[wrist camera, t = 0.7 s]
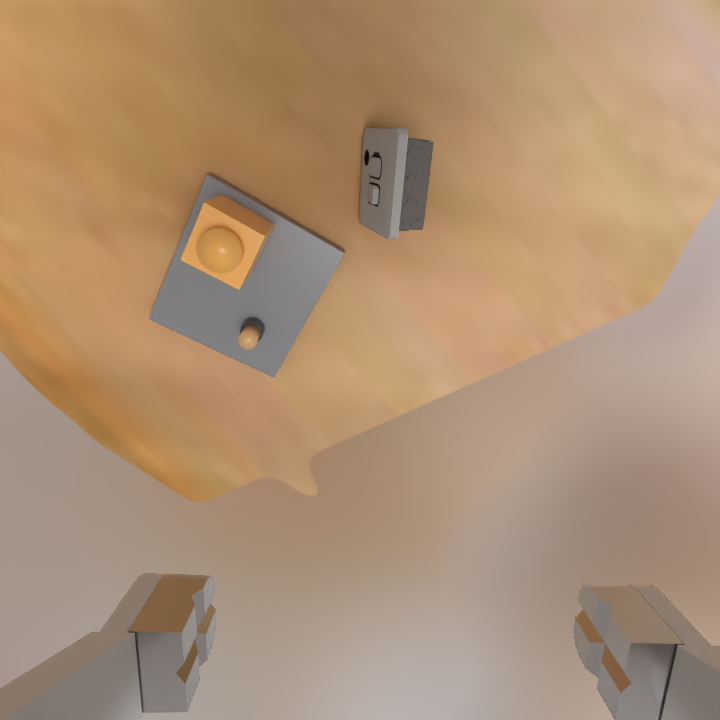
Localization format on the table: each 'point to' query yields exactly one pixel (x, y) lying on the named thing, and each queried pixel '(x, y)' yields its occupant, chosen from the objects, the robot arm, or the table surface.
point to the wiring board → (249, 289)
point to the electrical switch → (393, 181)
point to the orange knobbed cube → (226, 240)
